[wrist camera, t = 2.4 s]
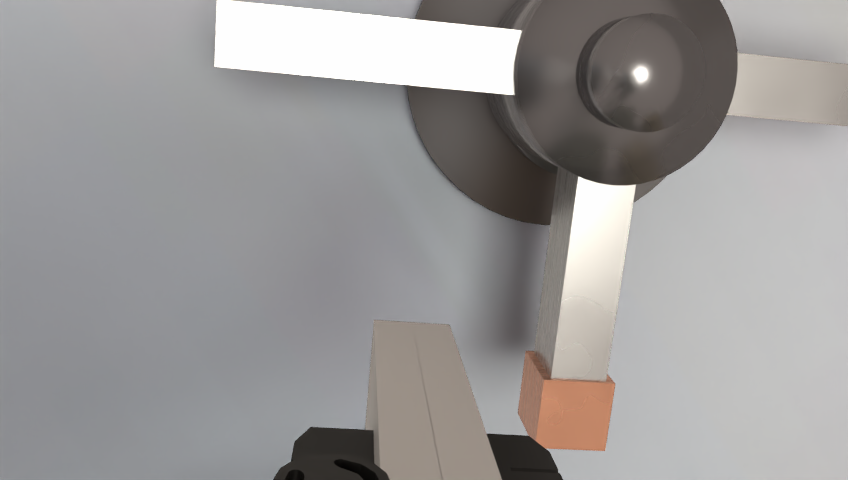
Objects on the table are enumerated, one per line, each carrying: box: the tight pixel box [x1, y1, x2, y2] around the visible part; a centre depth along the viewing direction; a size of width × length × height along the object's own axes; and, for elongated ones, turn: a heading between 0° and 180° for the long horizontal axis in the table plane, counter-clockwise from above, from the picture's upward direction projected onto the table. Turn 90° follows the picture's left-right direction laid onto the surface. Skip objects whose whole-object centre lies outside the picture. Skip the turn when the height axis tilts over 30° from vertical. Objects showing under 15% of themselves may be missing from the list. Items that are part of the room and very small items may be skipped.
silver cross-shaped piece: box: [214, 0, 848, 451], centre depth 19 cm, size 18×18×6 cm
